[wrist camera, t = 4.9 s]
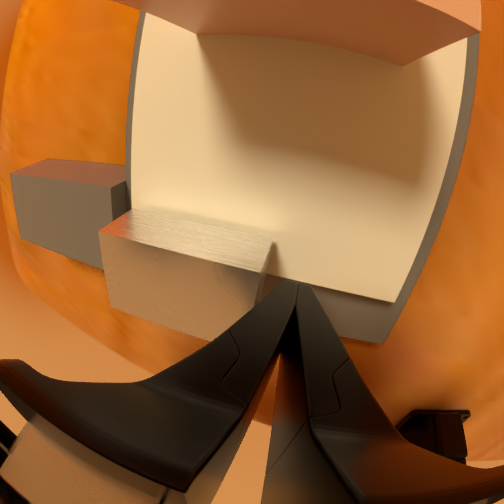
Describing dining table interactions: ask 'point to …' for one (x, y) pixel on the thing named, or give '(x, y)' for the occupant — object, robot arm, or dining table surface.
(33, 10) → the dining table surface
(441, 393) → the dining table surface
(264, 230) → the cover
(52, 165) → the case
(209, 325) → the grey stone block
